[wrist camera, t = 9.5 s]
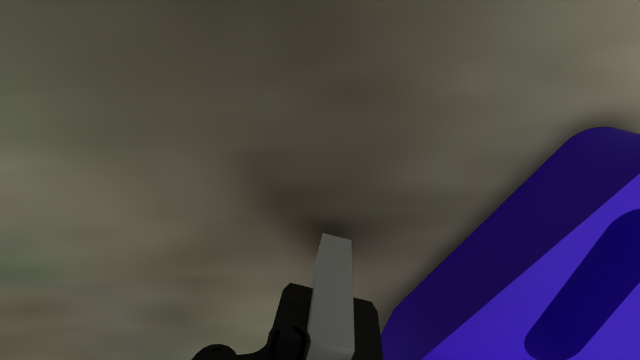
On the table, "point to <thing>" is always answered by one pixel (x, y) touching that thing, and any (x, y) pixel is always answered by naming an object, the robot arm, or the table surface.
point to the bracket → (540, 268)
